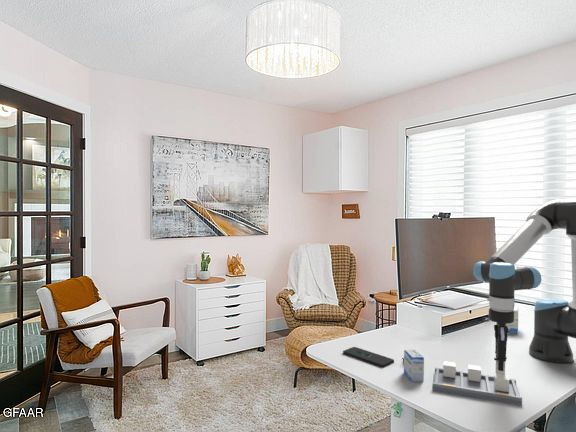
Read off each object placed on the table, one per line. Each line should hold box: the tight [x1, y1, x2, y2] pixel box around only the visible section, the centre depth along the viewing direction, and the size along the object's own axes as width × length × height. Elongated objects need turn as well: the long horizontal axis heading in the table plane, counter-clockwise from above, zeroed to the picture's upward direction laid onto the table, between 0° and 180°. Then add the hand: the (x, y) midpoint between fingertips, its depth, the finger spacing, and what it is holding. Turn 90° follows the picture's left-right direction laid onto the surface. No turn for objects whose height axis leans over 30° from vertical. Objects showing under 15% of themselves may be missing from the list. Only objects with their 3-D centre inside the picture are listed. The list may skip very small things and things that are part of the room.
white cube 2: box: [467, 364, 482, 382], centre depth 138 cm, size 4×4×4 cm
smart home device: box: [342, 346, 395, 369], centre depth 161 cm, size 8×2×20 cm
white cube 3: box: [442, 360, 457, 378], centre depth 141 cm, size 4×4×4 cm
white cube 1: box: [493, 373, 510, 392], centre depth 131 cm, size 4×4×4 cm
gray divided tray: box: [432, 366, 523, 406], centre depth 135 cm, size 26×15×2 cm, turn 67°
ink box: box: [506, 306, 519, 335], centre depth 197 cm, size 9×8×12 cm
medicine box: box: [403, 349, 425, 382], centre depth 143 cm, size 8×4×9 cm, turn 5°
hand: (500, 378), depth 133 cm, fingers closed
